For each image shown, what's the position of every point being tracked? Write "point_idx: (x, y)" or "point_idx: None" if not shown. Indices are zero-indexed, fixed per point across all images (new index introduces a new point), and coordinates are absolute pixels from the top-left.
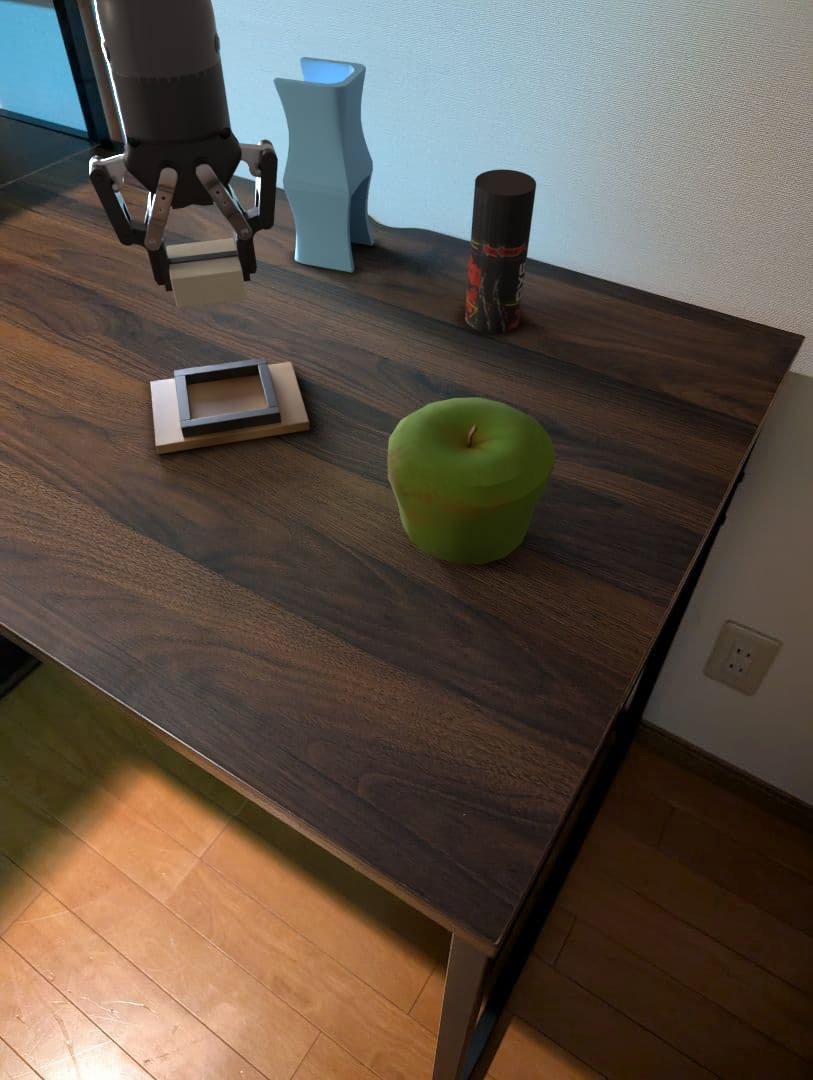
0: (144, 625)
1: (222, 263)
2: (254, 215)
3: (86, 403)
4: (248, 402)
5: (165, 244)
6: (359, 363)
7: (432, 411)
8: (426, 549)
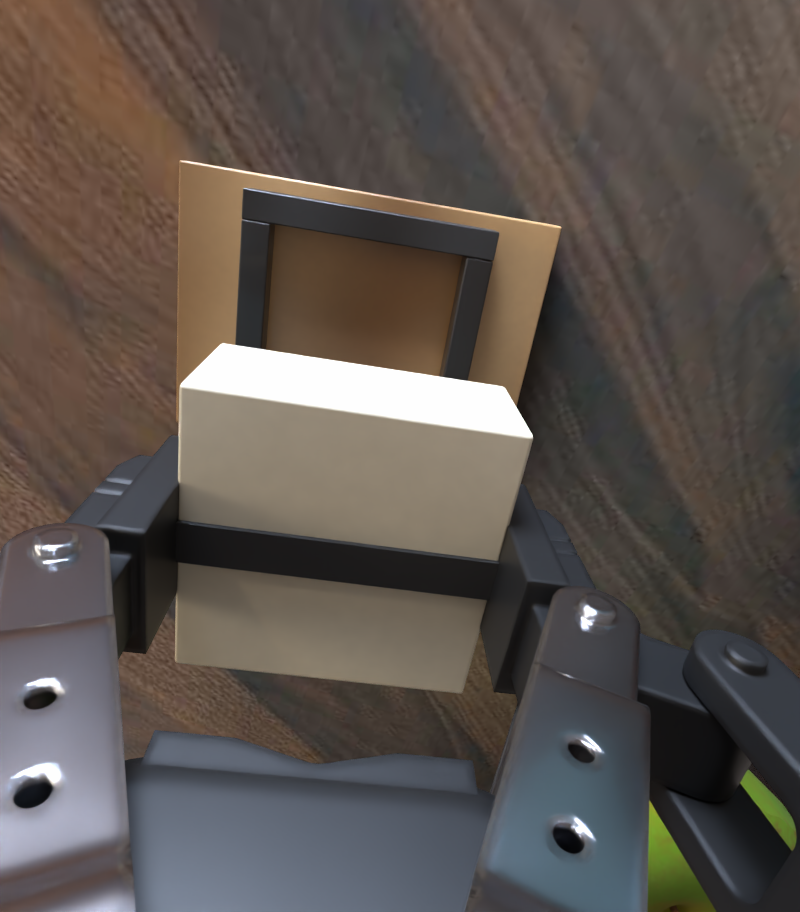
0: (140, 730)
1: (405, 629)
2: (650, 769)
3: (9, 147)
4: (402, 354)
5: (158, 515)
6: (716, 270)
7: (669, 870)
8: None
